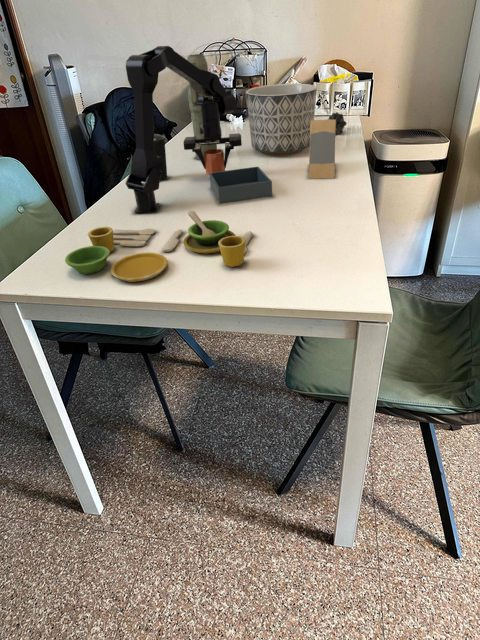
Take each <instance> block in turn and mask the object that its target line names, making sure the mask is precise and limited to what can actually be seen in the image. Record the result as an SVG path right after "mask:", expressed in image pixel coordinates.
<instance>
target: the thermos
mask: <svg viewBox="0 0 480 640" xmlns="http://www.w3.org/2000/svg"><path fill="white" fill-rule="evenodd" d="M186 60H188V61H189V62H191V63H192V64H193V65H195V66H196V67H198V68H199V69H201V70H205V71H209V67H208V66H209V65H208V62H207V59H206V56H205V55H203V54H202V53H195V54H190V55H188V56H187V57H186ZM199 96H204V97H212V96H205V95H202V94H198V93H197V92H196V91H195V90H194V89H193V88H192V87H191V84H190V83H189V82H188V91H187V99H188V107H189V111H190V113H191V114H190V115H191V121H192V122H191V124H192V129H193V131H192V132H193V137H195V136H196V138H197V139H204V136H203V134H202V135H201V134H200V125H199V124H202V117H201V108H200V105H195V102H196V100H197V99H198V97H199ZM212 98H213V97H212ZM208 142H211V141H208ZM202 149H203V154H204V151H206V150H210V149H218V144H213V145H202ZM194 154H195V160H198V161H201V160H200V159H199V157H198V155H197V154H196V152H194ZM204 159H205V158H204Z"/></svg>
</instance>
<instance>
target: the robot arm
mask: <svg viewBox="0 0 480 640" xmlns="http://www.w3.org/2000/svg"><path fill="white" fill-rule="evenodd" d="M165 69H169V70H170V71H172V72H174V73H175V74H177V75H178V76H180V77H181V78H183V80H186V81H187V82H188V84H189V83H190V84H191V87H192V88H193V89H194V90H195V91H196V92H197V93H198V94H202V95H205V96H212V97H204V96H199V97H198V99H197V100H196V102H195V105H200V108H201V117H202V124H199V125H200V134H201V135H202V134H203V136H204V139H197V138H196V136H195V137H194V136H186V137H184V139H183V150H184V151H189V150H191V152H192V153H195V152H196V154H197V155H198V157H199V159H200V160H199V161H200V163H201V165H202V167H203V169H204V170H206V167H205V159H204V154H203V149H202V145H213V144H217V145H223V144H224V166H225V169H226V168H227V165H228V160H229V156H230V154H231V151H232V150H234V149H235V147H242V145H243V144H242V141H243V140H242V134H241V133H228V134H229V135H228V136H226V137H225V136H224V137H222V136H223V135H222V128H221V127H222V126H221V117H220V116H224V115H227V114H232V113H234V112H235V111H236V110H237V108H238V101H237V98H236V96H235V95H234V94H232V93H233V92H232V89H225V87H224V85H223V84H222V82H221V81H220V79H221V78H220V77H219V75H218V74H216V73H214V72H211V71H210V70H208V71H205V70H201V69H199V68H198V67H196V66H195V65H193V64H192V63H191V62H189V61H188V60H187V58H185V57H184V56H182V55H181V54H179V53H178V52H177V51H175V49H174V48H173V47H171V46H169V45H158V46H156V47H155V48H152V49H150V50H147V51H145V52H143V53H140V54H132V55H130V56H129V57H128V58H127V59H126V61H125V70H126V71H125V72H126V77H127V81H128V84H129V86H130V88H131V90H132V92H133V105H134V127H135V152H134V153H133V156H132V157H131V165H130V172H129V174H128V176H127V178H126V181H125V186H126V187H127V189H128V190H133V195H134V199H135V205H136V208H135V210H134V214H150V213H157V212H158V209H159V207H160V202H157V200H156V194H155V191H157V190H159V189H160V182H161V181H160V177H161V172H163V170H162V158H161V157H159V156H157V155H156V153H155V151H154V134H155V129H154V97H153V95H154V91H155V90H156V87H157V85H158V82H159V74H160V73H161V72H163V71H165ZM208 141H211V142H208Z"/></svg>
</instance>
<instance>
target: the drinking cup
mask: <svg viewBox="0 0 480 640" xmlns="http://www.w3.org/2000/svg"><path fill="white" fill-rule="evenodd" d="M154 151H155V153H156V155H157V156H159V157H161V158H162V170H163V172H161V177H160V182H163V181H166V180H168V170H167V169H168V167H167V153H166V136H164V135H161V134H158V133H154Z"/></svg>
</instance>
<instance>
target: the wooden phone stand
mask: <svg viewBox="0 0 480 640" xmlns="http://www.w3.org/2000/svg"><path fill="white" fill-rule="evenodd" d="M335 133H336V120H328V119H314V120H311V124H310V146H309V152H308V153H309V154H308V157H309V159H308V173H309V175H308V177H309V179H335V178H336V177H335V174H336V171H335V170H336V169H335V167H336V134H337V133H336V134H335Z"/></svg>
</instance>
